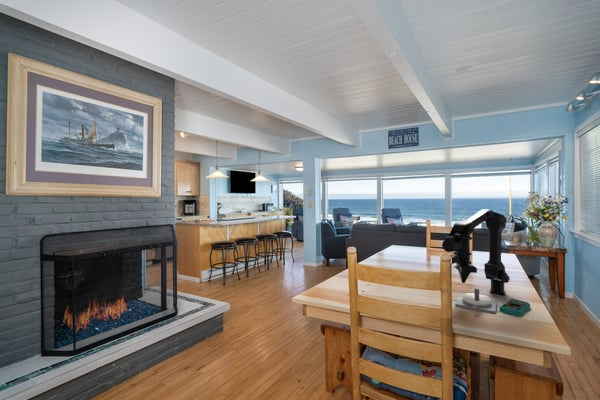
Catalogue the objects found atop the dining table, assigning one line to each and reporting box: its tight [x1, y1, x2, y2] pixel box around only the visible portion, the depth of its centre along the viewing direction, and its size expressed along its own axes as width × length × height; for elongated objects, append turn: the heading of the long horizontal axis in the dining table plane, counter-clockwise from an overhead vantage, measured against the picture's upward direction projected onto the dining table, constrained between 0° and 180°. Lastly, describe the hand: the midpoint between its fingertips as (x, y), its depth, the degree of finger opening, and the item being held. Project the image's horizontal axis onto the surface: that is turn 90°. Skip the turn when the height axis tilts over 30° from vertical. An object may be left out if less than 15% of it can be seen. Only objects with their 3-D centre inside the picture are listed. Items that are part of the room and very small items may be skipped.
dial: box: [462, 287, 492, 306], centre depth 132 cm, size 11×11×7 cm
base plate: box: [454, 293, 498, 315], centre depth 132 cm, size 16×15×1 cm
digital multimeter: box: [498, 298, 531, 317], centre depth 126 cm, size 7×15×3 cm, turn 127°
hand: (463, 282), depth 137 cm, fingers closed
